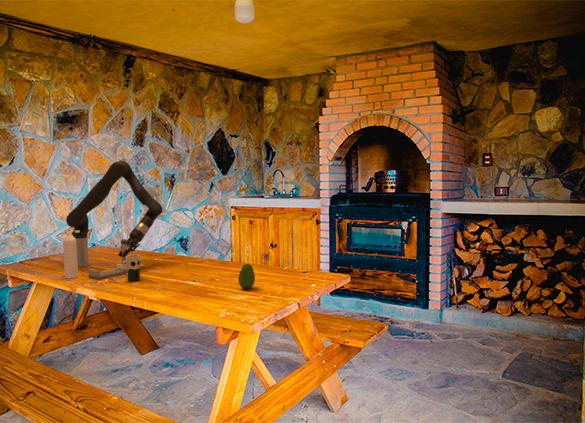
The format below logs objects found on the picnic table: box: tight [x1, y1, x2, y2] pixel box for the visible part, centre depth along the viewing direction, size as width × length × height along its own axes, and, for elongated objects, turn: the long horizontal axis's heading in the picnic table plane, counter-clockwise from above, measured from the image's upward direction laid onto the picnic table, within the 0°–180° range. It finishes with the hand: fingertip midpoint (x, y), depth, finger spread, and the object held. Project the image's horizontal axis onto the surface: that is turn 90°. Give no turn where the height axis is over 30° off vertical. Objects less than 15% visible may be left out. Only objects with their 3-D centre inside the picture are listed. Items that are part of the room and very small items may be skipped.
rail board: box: [87, 267, 140, 281], centre depth 236 cm, size 9×25×5 cm, turn 145°
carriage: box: [115, 238, 129, 269], centre depth 240 cm, size 6×7×16 cm
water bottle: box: [62, 231, 80, 280], centre depth 230 cm, size 9×6×25 cm
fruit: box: [238, 263, 256, 290], centre depth 202 cm, size 8×8×12 cm
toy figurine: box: [123, 254, 144, 282], centre depth 221 cm, size 11×7×13 cm, turn 138°
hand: (121, 256), depth 239 cm, fingers closed on carriage, 3 cm apart
